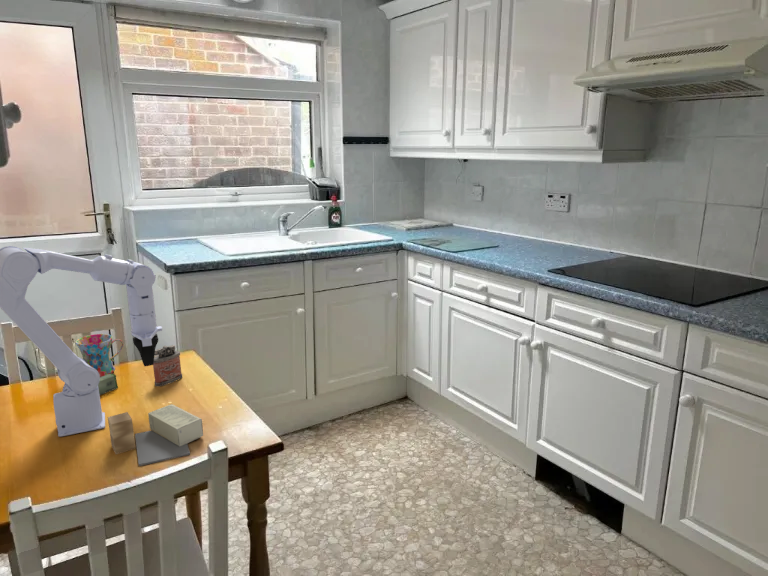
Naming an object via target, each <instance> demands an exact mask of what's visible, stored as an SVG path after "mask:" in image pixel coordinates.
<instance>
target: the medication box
mask: <svg viewBox="0 0 768 576" xmlns="http://www.w3.org/2000/svg"><path fill="white" fill-rule="evenodd" d="M118 386H119V385H118V382H117V375H116V374H114V373H112V374H111V373H110V374H107V375H105V376H102V377H100V381H99V384H98V388H99V395H100V396H101V395H104V394H108V393H110V392H112V391H115V390H117V389H118V388H119V387H118Z"/></svg>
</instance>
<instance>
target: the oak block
mask: <svg viewBox="0 0 768 576" xmlns="http://www.w3.org/2000/svg"><path fill="white" fill-rule="evenodd" d="M107 423H108V429H109V436H110V443H111V444H110V445H111V448H112V450H113V452H114V453H115V455H119V454H122V453H125V452H129V451H132V450H135V449H136V450H137V447H136V439H135V433H134V425H133V417H132V416H131V415H130V413H129V411H126V412H123V413H118V414H114V415H111V416H107Z"/></svg>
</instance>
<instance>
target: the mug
mask: <svg viewBox="0 0 768 576" xmlns="http://www.w3.org/2000/svg"><path fill="white" fill-rule="evenodd" d="M117 341H118V342H120V343H121V345H120V348H119V350H118V351H117V352H116V353H115V354H114V355H113V356H112V357H111V356H110V355H111V354H110V352H111V351H110V350H111V348H112V344H113V343H114V342H117ZM75 345H76V347H77V348H78V350H79V352H80V354H81V356H82V359H83V360H84V361H85V362H86V363H87V364H88V365H90V366H91V367H92V368H95V369H96V370H97V371H98V373H99V375H100V377H102V376H105V375H107V374H110V373H111V374H114V372H115V370H116V367H115V366H114V365H113V363H112V362H115V360H114V358H115V357H117V356H118V355H119V354H120V353H121V351H122V350H123V348H124V342H123V340H122V339H119V338H116V339H113V336H112V335H111V334H108V333H95V334H89V335H85V336H82V337H80V338H78V339H76V340H75Z"/></svg>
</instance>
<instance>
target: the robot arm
mask: <svg viewBox="0 0 768 576" xmlns="http://www.w3.org/2000/svg"><path fill="white" fill-rule="evenodd" d="M23 249H24V250H25V251H24V250H23ZM113 257H114V256H113V255H111V254H107V253H105V254H104V256H103V255H98V256H96V257H95V258H93V259H90V258H89V259H88V258H85V257H79V256H75V255H70V254H67V253H60V252H57V251H53V250H47V249H41V248H34V247H22V249H21V248H20V247H18V246H13V245H7V246H3V247H1V248H0V309H1V311H3V312H4V314H6V316H7V317H8V318H9V319H10V320H11V321H12V323H14V324H15V325H16V326H17V328H19V329H20V330H21V332H22V333H23V334H24V335H25V336H26V337H27V338H28V339H29V340H30V341H31V342H32V343H33V344H34V345H35V346H36V347H37V348H38V349H39V350H40V352H41V353H42V354H43V355H44V356H45V357H46V358H47V359H48V360H49V361H50V362H51V365H53V366H54V367H55V368H56V371H57V372H56V373H57V375H58V378H59V379H60V380H61V381H62V382H63V383H64V384H63V388H62V391H60V392H56V393H53V401H52V402H53V410H54V416H55V424H56V425H55V426H56V428H57V436H58V437H66V436H71V435H75V434H79V433H80V434H81V433H85V432H91V431H95V430H101V429H105V428H106V412H104V411H103V409H102V404H101V397H100V396H101V395H99V388H98V384H99V381H100V375H99V373H98V371H97V370H96V369H95V368H92V367H91V366H90V365H88V364H87V363H86V362H85V361H84V360H83V357H79V356H78V355H77V354H76V353H75V352H73V350H72V349H71V348H70V347H69V346H68V345H67V343H65V342H64V341H63V339H62V338H61V336H59V335H58V334H57V333H56V331H54V329H53V328H52V327H51V326H50V325H49V324H48V323H47V321H46V320H45V319H44V318H43V317H42V316H41V315H40V314H39V313H38V311H37V310H35V308H34V307H33V306H32V305H31V304H30V303H29V301H27V299H26V294H27V290H28V287H29V285H30V284H31V282H33V280H34V278H35V277H36V275H37V274H38V273H40V274H41V275H43V274H46V273H47V272H49V271H51V270H61V271H69V272H75V273H83V274H89V276H90V277H91V278H92V280H94V281H95V282H96V281H97V282H102V283H108V284H113V285H119V286H126V294H127V295H126V297H127V303H128V311H129V312H128V313H129V320H130V327H131V330H130V335H131V336H132V342H133V345H134V346H135V347H136V348H137V349H136V350H138V352H139V356H140V358H141V361H142V364H143V367H149V366H153V363H154V357H155V355H154V354H155V350H156V348H157V346H158V345H157V344H158V343H159V337H158V332H162V331H163V326H162V325H161V326H160V325H159V326H157V318H156V317H157V316H156V308H155V300H154V298H155V297H154V292H153V285H154V283H155V281H156V275H155V274H154V271H153V269H152V268H151V267H149V265H146V264H142V263H140V262H135V260H133V259H129V258H127V259H126V260H123V259H120V258H119V259H118V258H113Z"/></svg>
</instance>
